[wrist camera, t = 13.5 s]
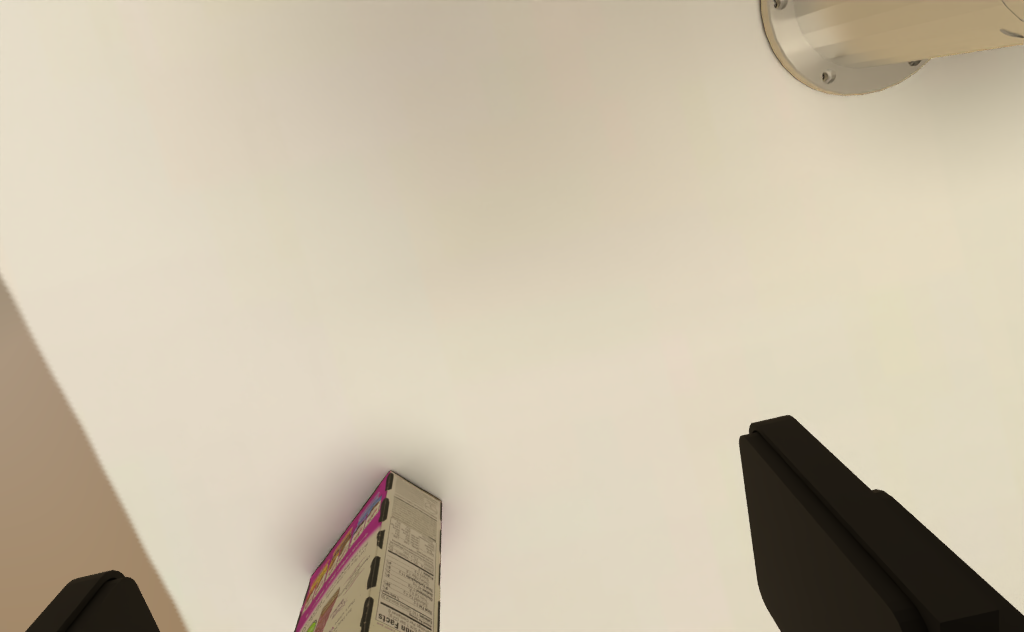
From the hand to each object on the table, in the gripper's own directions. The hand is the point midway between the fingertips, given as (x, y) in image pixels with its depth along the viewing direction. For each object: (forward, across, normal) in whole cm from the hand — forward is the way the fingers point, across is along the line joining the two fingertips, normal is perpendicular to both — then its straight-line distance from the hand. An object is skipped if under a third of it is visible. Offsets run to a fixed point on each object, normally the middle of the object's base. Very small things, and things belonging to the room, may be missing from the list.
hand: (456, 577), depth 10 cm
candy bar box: (+34, +12, +21) cm, 42 cm away
